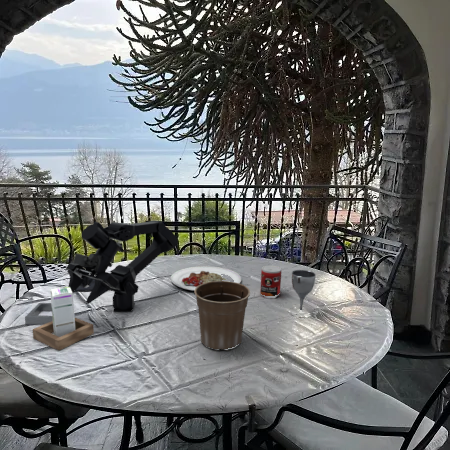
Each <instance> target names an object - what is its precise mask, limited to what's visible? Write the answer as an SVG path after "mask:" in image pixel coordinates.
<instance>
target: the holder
mask: <svg viewBox="0 0 450 450" xmlns="http://www.w3.org/2000/svg"><path fill="white" fill-rule="evenodd" d="M41 312H52V305H51V302H38V303H37V305H35V306H34V307H33V308H32V310H30V312H28V314H26V316H24V321H25V325H44V324H46V323H49V322H51V321H53V317H52V315H39V314H40V313H41Z"/></svg>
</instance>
